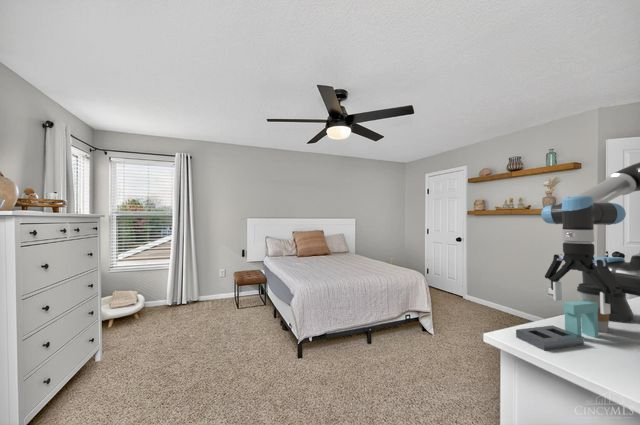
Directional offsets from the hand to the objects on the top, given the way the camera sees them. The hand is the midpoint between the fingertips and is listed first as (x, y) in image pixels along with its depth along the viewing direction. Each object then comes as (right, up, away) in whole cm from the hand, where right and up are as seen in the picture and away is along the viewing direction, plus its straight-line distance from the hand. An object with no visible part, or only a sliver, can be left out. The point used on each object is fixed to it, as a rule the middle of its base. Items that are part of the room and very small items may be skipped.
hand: (579, 306), depth 87 cm
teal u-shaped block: (+1, -10, 0) cm, 10 cm away
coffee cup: (+11, -10, +5) cm, 16 cm away
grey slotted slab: (-13, -10, -3) cm, 17 cm away
